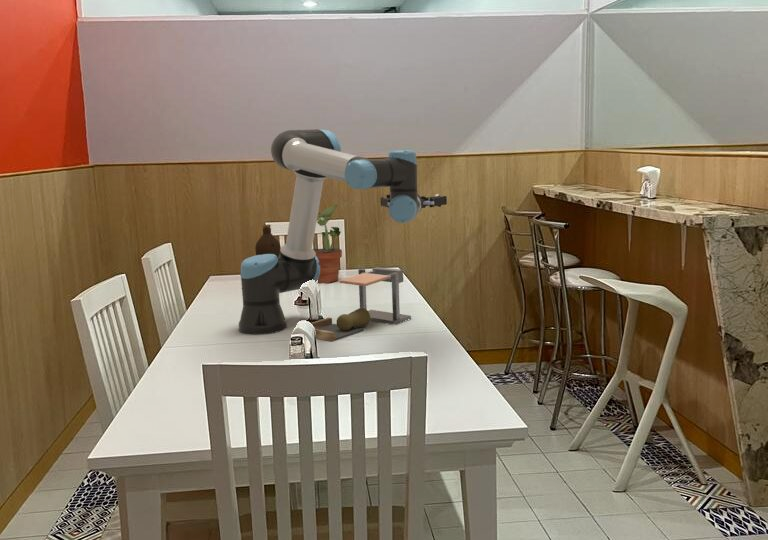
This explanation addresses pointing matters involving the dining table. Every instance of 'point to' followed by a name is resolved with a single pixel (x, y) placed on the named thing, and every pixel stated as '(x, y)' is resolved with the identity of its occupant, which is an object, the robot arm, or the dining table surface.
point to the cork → (353, 319)
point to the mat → (340, 333)
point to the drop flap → (373, 277)
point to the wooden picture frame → (322, 333)
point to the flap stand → (395, 316)
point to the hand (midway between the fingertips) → (416, 198)
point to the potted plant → (328, 250)
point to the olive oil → (267, 243)
